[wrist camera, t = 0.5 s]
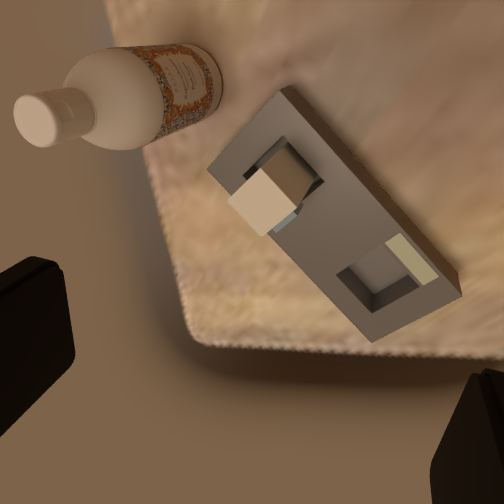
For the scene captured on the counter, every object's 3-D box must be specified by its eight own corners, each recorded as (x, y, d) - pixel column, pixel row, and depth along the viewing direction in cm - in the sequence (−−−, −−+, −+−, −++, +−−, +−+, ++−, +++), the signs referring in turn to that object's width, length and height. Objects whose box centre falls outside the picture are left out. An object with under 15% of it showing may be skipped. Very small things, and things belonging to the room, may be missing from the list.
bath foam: (235, 107, 39) (108, 162, 23) (177, 130, 42) (27, 195, 26) (206, 30, 37) (41, 30, 20) (147, 61, 40) (-39, 82, 23)
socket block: (290, 84, 37) (278, 90, 33) (457, 274, 40) (462, 296, 36) (222, 158, 42) (205, 169, 39) (373, 320, 45) (371, 343, 42)
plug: (292, 138, 38) (260, 167, 30) (324, 174, 39) (302, 213, 31) (263, 165, 40) (226, 200, 32) (294, 199, 41) (266, 242, 33)
